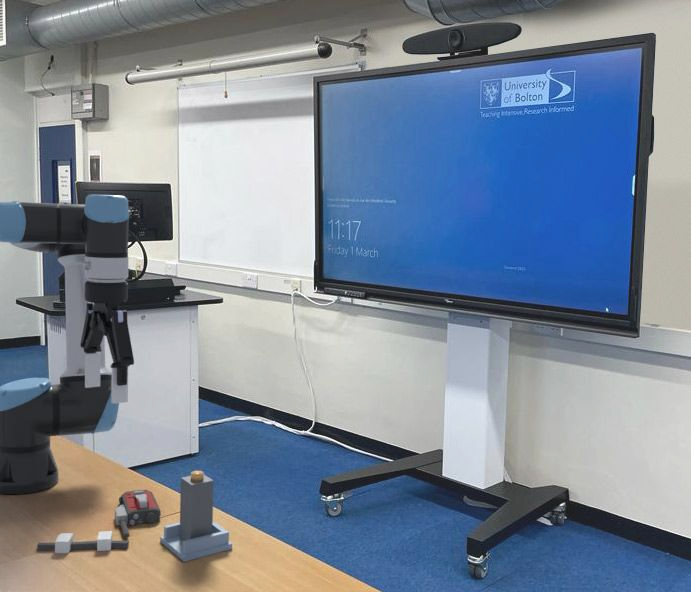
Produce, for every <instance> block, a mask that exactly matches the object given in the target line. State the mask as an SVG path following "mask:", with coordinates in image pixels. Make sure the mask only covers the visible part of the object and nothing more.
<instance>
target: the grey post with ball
mask: <svg viewBox="0 0 691 592" xmlns="http://www.w3.org/2000/svg"><path fill="white" fill-rule="evenodd" d="M179 505H180V507H179V522H180V539H181V540H182V541H186V540H190V539H194V538H198V537H202V536H206V535H210V534H212V524H213V521H214V520H213V515H214V514H213V513H214V512H213V511H214V480H213V479H212V478H210V477H209V476H207V475H206V474H205V472H204V471H201V470H193V471H191V472H190V475H188V476H182V477H180V502H179Z"/></svg>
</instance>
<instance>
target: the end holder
mask: <svg viewBox="0 0 691 592" xmlns="http://www.w3.org/2000/svg"><path fill="white" fill-rule="evenodd" d="M159 539H160V541H159V542H160V543H161V544H162V545H163V544H164V545H163V546H164V547H166V549H168V550H169V551H170V552H171V553H173V555H175V556H176V557H177V558H178V559H180V560H181V561H182V562H185V563H186V562H189V561H192V560H195V559H199V558H203V557H206V556H211V555H214V554H217V553H221V552H225V551H229V550H232V549H233V543H232V542H231V541H230V532H229V531H228V530H227V529H225V528H224V527H222V526H221V525H220V524H218V523H217V522H216V521H214V520H213V524H212V534H210V535H206V536H202V537H198V538H194V539H190V540H186V541H182V540H181V539H180V521H179V522H176V523H172V524H167V525H164V526H163V535H161V536H159Z"/></svg>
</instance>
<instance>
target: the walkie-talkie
mask: <svg viewBox="0 0 691 592" xmlns="http://www.w3.org/2000/svg"><path fill="white" fill-rule="evenodd" d="M118 502H119V506H117V507H116V508H115V509H114V519H115V525H116V526H120V527H121V530H122V534H123V536H124V537H125V538H128V539H129V538H130V536H131V534H130V531H129V529H128V526H133V525H137V524H138V525H140V524H146V523H148V524H149V523H150V524H152V523H155V522H156V523H157V522H159V521H160V520H161V515H162V514H161V512H162V511H161V509H160V506H159V504H158V502H157V499H156V497H155V496H154V494H153V492H152V491H151V490H148V489H139V490H138V489H137V490H131V491H130V490H129V491H125V492H124V493H122V494H121V496H119V498H118ZM127 525H128V526H127Z"/></svg>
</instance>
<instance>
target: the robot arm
mask: <svg viewBox="0 0 691 592" xmlns="http://www.w3.org/2000/svg"><path fill="white" fill-rule="evenodd" d="M130 216H131V215H130V212H129V200H128V198H127V197H126V196H124V195H114V194H113V195H112V194H92V193H91V194H88V195H87V196H86V197H85V203H81V204H80V203H78V204H77V203H74V204H73V203H48V202H26V201H24V202H22V201H21V202H20V201H17V200H16V201H15V200H14V201H0V242H1V243H9V244H11V246H14V247H17V248H19V249H23V250H27V251H31V252H35V253H36V252H37V253H48V254H49V253H50V254H51V253H52V254H57V262H59V264H60V265H61V266H63V267H64V291H65V292H64V293H65V342H66V343H65V345H66V346H65V347H66V367H65V368H66V369H65V371H63V373H62V374H61V375H60V376H59V384H52V382H51V381H50V379H49V378H47V377H30V378H23V379H18V380H14V381H10V382H8V383H5V384H2V385H0V494H2V495H3V494H4V495H24V494H31V493H36V492H40V491H41V492H42V491H43V490H46V489H49V488H51V487H53V486H55V485H56V484H57V483H58V481H59V468H58V465H57V462H56V459H55V456H54V455H53V452H52V448H51V437H58V436H60V437H61V436H71V435H85V434H91V435H94V434H97V433H105V432H109V431H111V430H112V429H113V428H114V427H115V424H116V422H117V418H118V413H119V405H120V404H121V403H128V402H129V399H128V397H129V367H130V366H132V365H134V364H135V359H134V353H133V348H132V341H131V337H130V336H131V335H130V331H129V324H128V311H127V310H126V309H125V310H124V309H123V310H120V306H119V304H121V303H123V304H124V303H126V302H127V301H128V299H129V295H128V294H129V290H128V289H129V283H128V281H126V279H128V278H129V253H128V252H129V223H130V222H129V219H130ZM105 338H106V340H107V343H108V347H109V352H110V355H111V359H112V363H111V364H110V368H111V371H110V370H109V369H108V368H107V367H106V344H105V343H106V341H105Z"/></svg>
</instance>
